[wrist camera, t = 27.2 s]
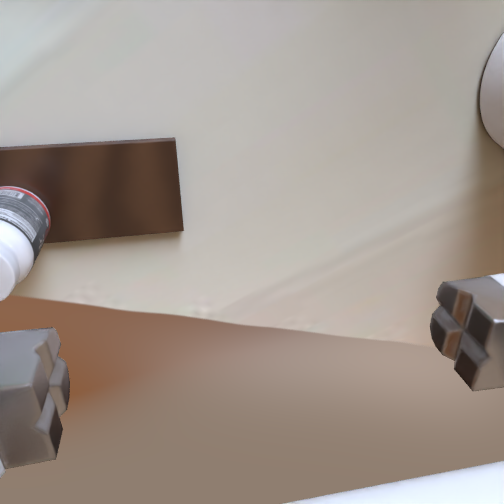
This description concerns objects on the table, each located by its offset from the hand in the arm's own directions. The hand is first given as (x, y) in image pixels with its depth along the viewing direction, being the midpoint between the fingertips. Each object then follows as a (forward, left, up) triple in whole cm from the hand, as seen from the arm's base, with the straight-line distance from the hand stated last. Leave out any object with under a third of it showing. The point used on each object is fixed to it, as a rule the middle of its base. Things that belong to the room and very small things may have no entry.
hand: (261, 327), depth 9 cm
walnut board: (+11, +8, -31) cm, 34 cm away
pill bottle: (+15, +9, -30) cm, 35 cm away
